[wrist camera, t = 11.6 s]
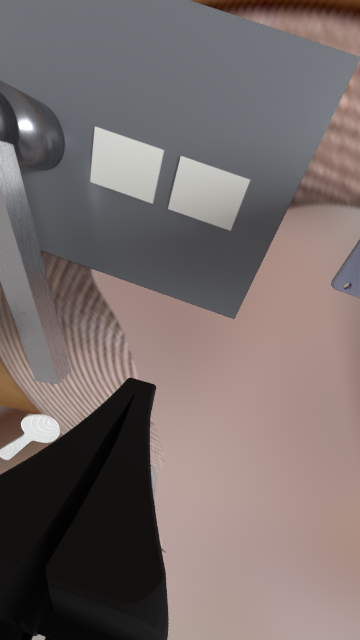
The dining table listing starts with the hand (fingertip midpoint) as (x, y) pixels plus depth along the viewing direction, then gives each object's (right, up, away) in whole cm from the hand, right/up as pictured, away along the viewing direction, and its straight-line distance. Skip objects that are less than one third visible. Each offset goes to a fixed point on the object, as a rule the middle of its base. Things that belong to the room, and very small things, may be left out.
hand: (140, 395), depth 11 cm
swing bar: (-8, +7, +4) cm, 12 cm away
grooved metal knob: (-7, +16, +5) cm, 18 cm away
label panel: (0, +14, +5) cm, 15 cm away
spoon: (-22, -14, +24) cm, 36 cm away
